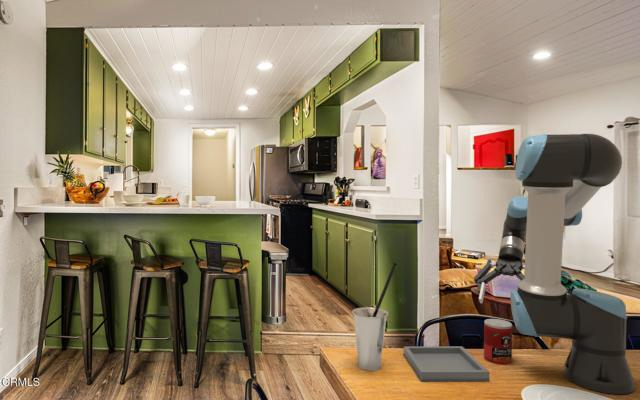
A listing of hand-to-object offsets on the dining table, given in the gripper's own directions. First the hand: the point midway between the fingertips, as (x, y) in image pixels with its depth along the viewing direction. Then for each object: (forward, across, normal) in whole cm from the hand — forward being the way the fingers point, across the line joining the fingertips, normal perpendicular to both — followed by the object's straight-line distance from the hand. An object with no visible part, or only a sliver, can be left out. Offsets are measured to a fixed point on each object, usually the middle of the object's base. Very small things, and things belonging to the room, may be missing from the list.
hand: (503, 304), depth 127 cm
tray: (+28, +11, +8) cm, 31 cm away
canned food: (+17, 0, -3) cm, 17 cm away
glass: (+36, +28, +16) cm, 48 cm away
